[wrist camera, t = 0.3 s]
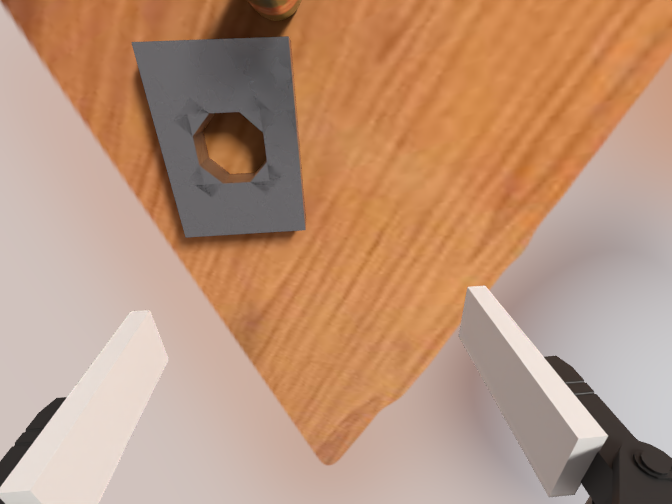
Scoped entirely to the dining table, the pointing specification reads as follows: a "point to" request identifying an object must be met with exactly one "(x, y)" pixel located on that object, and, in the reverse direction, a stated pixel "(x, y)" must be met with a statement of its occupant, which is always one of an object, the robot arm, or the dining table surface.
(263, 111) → the plate
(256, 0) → the soda can
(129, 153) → the dining table surface
